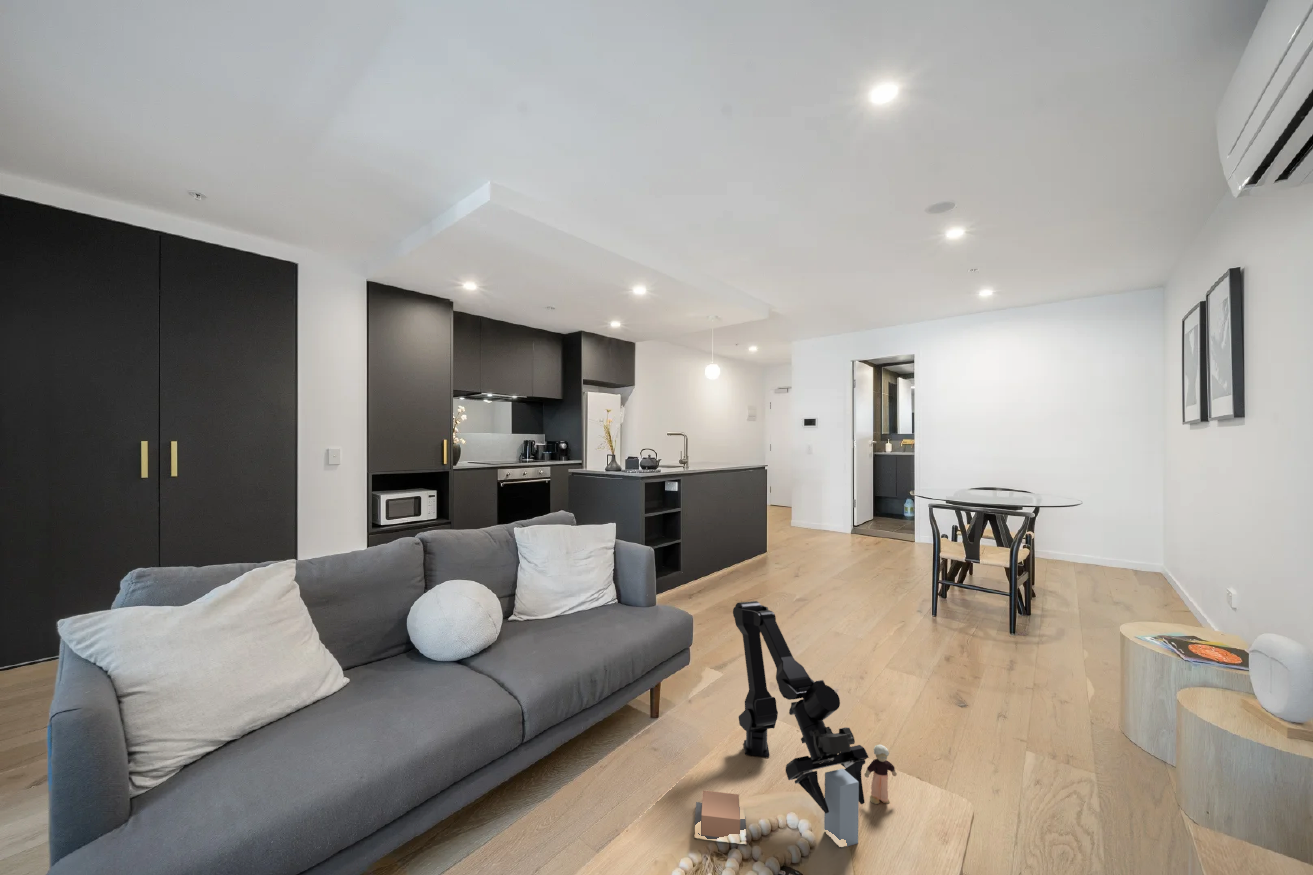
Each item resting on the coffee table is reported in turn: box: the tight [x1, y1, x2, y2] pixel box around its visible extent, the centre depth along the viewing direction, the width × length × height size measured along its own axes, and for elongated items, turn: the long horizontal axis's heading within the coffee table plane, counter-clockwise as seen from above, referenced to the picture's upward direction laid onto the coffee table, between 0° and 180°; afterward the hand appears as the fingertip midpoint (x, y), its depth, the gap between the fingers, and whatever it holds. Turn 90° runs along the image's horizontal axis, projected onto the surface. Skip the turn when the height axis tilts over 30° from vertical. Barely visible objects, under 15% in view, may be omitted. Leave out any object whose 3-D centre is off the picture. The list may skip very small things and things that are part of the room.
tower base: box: [694, 790, 747, 839], centre depth 109 cm, size 10×11×5 cm
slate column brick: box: [823, 768, 860, 847], centre depth 107 cm, size 5×5×12 cm
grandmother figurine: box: [863, 744, 898, 805], centre depth 119 cm, size 8×4×13 cm, turn 105°
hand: (845, 808), depth 105 cm, fingers open, 9 cm apart
